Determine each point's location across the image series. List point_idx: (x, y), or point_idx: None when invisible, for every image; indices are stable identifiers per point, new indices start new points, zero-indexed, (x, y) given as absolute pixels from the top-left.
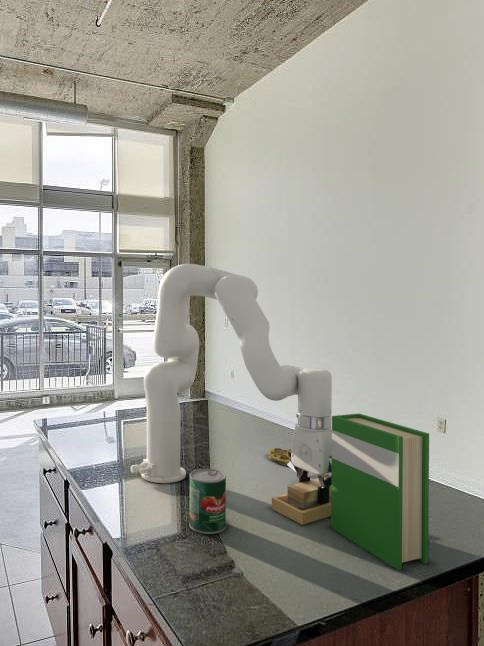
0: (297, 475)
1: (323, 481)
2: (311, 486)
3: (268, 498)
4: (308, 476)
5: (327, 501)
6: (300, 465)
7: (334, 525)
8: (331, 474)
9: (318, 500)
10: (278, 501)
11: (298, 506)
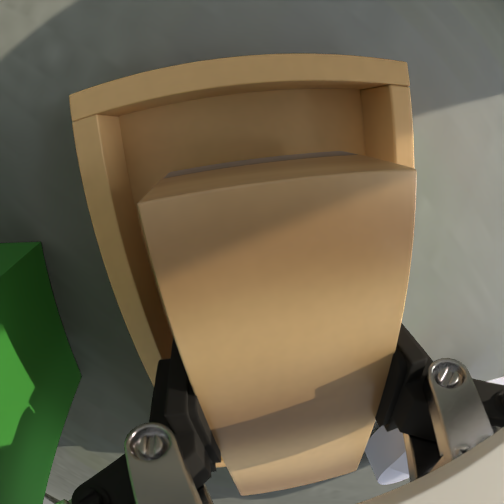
0: (458, 368)
1: (133, 481)
2: (278, 385)
3: (460, 161)
4: None
5: None
6: (482, 492)
7: (11, 250)
8: (389, 467)
9: None
10: (339, 55)
11: None
